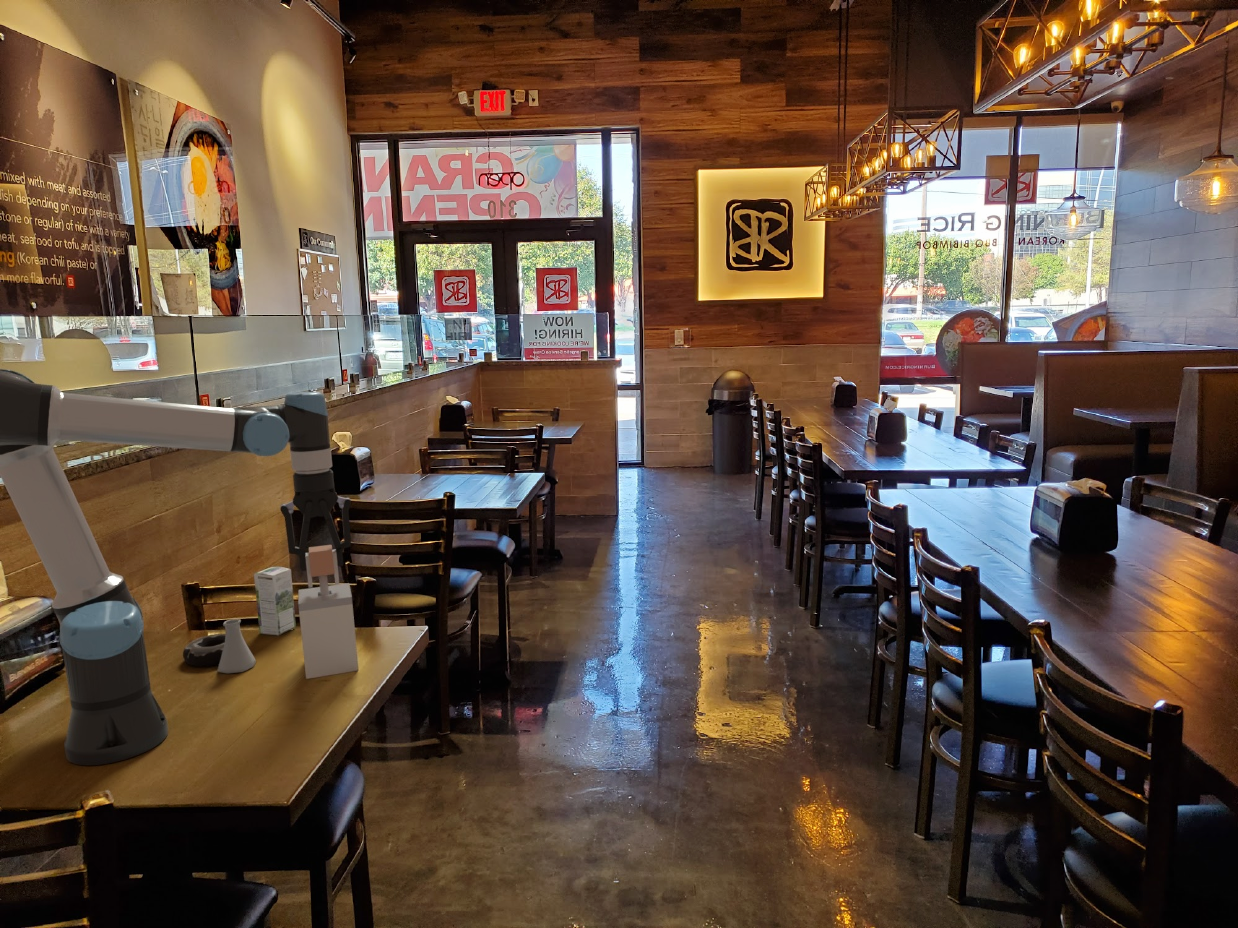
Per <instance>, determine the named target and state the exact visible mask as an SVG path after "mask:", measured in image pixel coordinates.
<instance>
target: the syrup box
mask: <svg viewBox="0 0 1238 928" xmlns="http://www.w3.org/2000/svg"><path fill="white" fill-rule="evenodd" d="M253 579H254V588H255V600H256V610H257V619H258V620H257V621H258V628H259V629H258V630H259V633H260V634H262V635H271V636H281V635H282V634H285V633H287V632H288V631H291V630H293V629H295V628H297V627H296V626H297V624H296V614H295V612H296V611H295V603H294V601H295V600H294V589H293V580H292V569H291V568H287V567H284V566H283V567H282V566H271V567H268V568H266V569H263V570H261V571H260V570H259V571H258V572H255V573H254V574H253Z"/></svg>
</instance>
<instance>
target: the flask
mask: <svg viewBox="0 0 1238 928" xmlns="http://www.w3.org/2000/svg"><path fill="white" fill-rule="evenodd" d="M241 622H242V620H241V619H238V618H234V619H233V618H232V619H228V620H226V621H224V622H223V624H222V625H223V627H224V628H225V634H226V636H225V644H224V648H223V652H222V656H221V660H220V663H219V665H218V667H217V673H223V674H233V673H235V674H236V673H243V672H245V671H247V670H249V669H251V668H254V667H255V665H256V662H257V661H256V659H255V656H254V655H253V653H252V651H251V649H250V648H249V647H248V645H247V642H246V641H245V639H244V637H243V634H242V631H241V626H240V624H241Z"/></svg>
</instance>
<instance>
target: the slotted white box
mask: <svg viewBox="0 0 1238 928" xmlns="http://www.w3.org/2000/svg"><path fill="white" fill-rule="evenodd" d="M328 589H329V595H322V596H321V593H320V586H318V587H311V588H309V587H308V588H302V589H298V601H297V603H298V604H297V605H298V614H299V624H300V631H301V632H300V634H301V643H302V650H303V651H302V652H303V663H304V671H305V672H304V673H305V679H306V680H308V679H314V678H315V679H316V678H320V677H321V678H322V677H326V676H331V675H332V676H333V675H338V674H344V673H350V672H356V671H359V663H358V662H359V661H358V651H357V650H358V649H357V640H356V639H357V637H356V629H355V628H356V627H355V619H354V608H353V607H354V606H353V595H352V591H351V586H350V583H349V582H348V583H341V584H340V583H339V584H332V585H331V584H330V585H328Z"/></svg>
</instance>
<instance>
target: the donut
mask: <svg viewBox="0 0 1238 928" xmlns="http://www.w3.org/2000/svg"><path fill="white" fill-rule="evenodd" d="M225 636H226V633H214V634H209V635H208V634H207V635H204V636H202V637H198V638H196V639H194V640H192V641H191V642H189V643H188V644H187V645H185V646H184V649H183V651H182V657H183V659H184V661H185V663H186V664H188V665H190V666H194V667H204V668H205V667H213V666H217V665H218V666H219V663H220V660H221V656H222V652H223V648H224V644H225Z"/></svg>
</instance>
